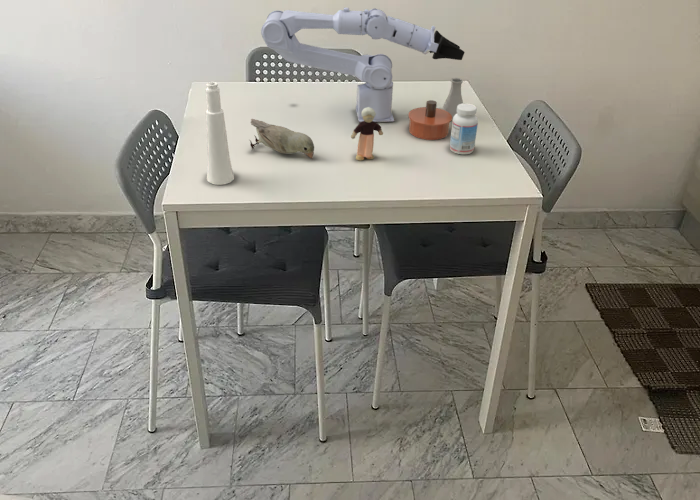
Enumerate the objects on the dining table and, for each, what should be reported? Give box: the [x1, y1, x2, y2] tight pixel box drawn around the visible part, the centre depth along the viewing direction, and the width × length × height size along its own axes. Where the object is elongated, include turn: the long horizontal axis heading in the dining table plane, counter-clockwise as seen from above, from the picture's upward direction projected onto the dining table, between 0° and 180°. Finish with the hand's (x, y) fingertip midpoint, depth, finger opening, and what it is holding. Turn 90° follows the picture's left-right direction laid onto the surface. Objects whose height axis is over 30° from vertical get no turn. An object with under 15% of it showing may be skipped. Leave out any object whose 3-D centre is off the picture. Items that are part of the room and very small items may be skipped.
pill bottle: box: [449, 102, 479, 155], centre depth 161 cm, size 6×6×11 cm
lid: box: [407, 99, 453, 126], centre depth 170 cm, size 11×11×5 cm
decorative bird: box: [249, 118, 315, 159], centre depth 158 cm, size 5×16×8 cm, turn 72°
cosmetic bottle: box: [205, 81, 235, 186], centre depth 142 cm, size 6×6×22 cm
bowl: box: [408, 119, 451, 141], centre depth 172 cm, size 10×10×4 cm
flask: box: [441, 77, 464, 121], centre depth 179 cm, size 7×7×10 cm
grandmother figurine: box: [350, 107, 384, 161], centre depth 156 cm, size 8×4×13 cm, turn 117°
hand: (460, 53), depth 169 cm, fingers open, 7 cm apart
